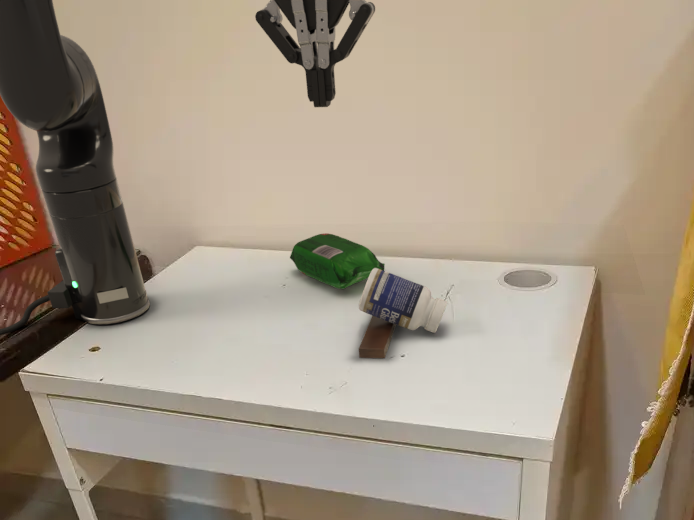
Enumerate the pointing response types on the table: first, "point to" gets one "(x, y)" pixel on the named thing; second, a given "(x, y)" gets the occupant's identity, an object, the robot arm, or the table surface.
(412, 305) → the pill bottle
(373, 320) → the bar
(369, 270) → the snack package
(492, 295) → the table surface
